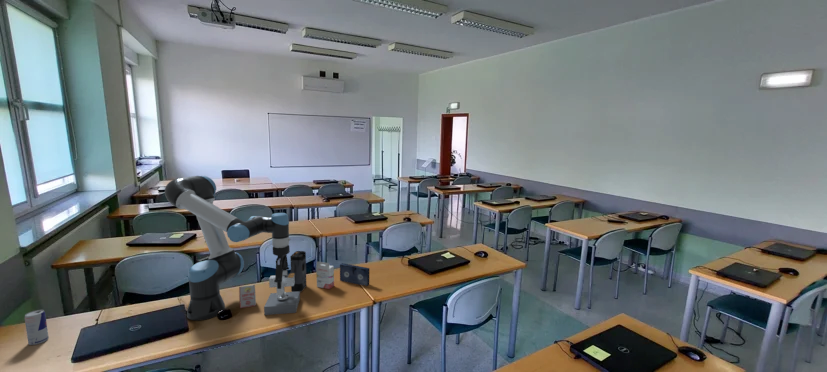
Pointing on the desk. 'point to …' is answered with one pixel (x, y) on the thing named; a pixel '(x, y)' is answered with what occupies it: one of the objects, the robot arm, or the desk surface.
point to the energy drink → (36, 327)
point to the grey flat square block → (282, 304)
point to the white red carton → (247, 296)
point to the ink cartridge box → (325, 275)
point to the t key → (287, 281)
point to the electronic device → (298, 270)
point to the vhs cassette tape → (354, 274)
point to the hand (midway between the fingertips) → (282, 288)
